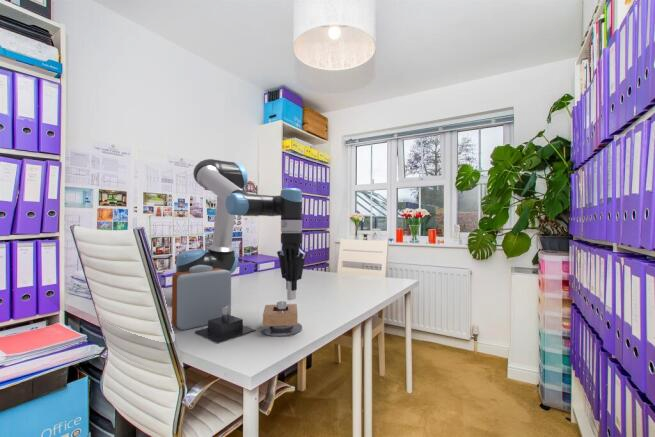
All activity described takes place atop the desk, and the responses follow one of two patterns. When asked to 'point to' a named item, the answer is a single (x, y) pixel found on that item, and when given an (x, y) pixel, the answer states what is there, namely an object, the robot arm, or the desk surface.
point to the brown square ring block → (280, 315)
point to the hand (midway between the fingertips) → (291, 299)
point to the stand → (224, 327)
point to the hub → (281, 330)
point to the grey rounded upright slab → (199, 296)
